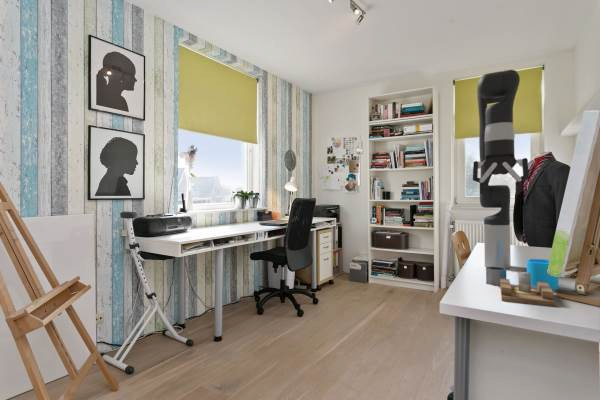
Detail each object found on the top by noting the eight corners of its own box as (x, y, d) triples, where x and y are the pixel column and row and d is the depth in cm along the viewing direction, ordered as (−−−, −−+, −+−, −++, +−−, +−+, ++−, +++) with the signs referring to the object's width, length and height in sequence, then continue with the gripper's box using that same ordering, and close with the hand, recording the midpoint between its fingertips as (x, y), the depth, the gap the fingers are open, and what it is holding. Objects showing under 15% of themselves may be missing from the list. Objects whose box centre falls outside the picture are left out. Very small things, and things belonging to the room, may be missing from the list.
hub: (486, 280, 119) (486, 266, 119) (505, 282, 117) (505, 267, 117) (486, 284, 114) (486, 269, 114) (506, 286, 111) (506, 270, 111)
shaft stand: (500, 287, 111) (499, 266, 111) (546, 291, 105) (545, 269, 105) (501, 300, 96) (501, 277, 96) (555, 306, 91) (554, 281, 91)
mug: (559, 291, 105) (558, 264, 105) (526, 288, 109) (526, 262, 109) (557, 283, 115) (556, 258, 115) (527, 280, 119) (527, 256, 119)
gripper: (526, 139, 102) (527, 194, 102) (472, 144, 109) (473, 195, 109) (529, 135, 96) (530, 194, 96) (471, 140, 102) (472, 195, 102)
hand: (500, 195), depth 102 cm, fingers open, 8 cm apart
